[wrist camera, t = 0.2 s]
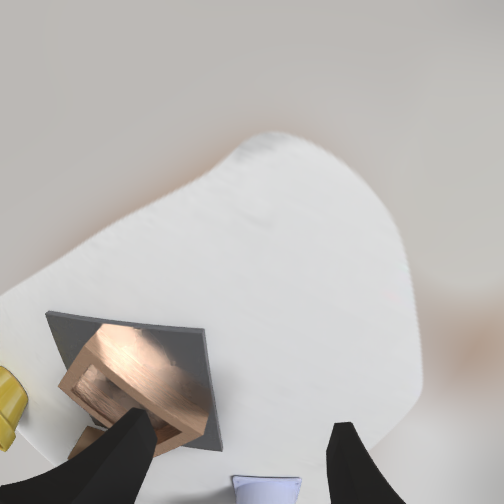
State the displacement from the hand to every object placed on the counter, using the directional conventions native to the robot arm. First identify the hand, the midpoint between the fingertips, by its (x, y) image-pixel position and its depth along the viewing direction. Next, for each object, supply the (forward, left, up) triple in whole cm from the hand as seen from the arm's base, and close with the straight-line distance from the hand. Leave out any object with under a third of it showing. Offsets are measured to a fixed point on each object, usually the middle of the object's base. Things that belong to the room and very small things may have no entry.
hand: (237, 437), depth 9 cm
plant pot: (-16, +35, -10) cm, 40 cm away
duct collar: (-9, +11, -10) cm, 18 cm away
